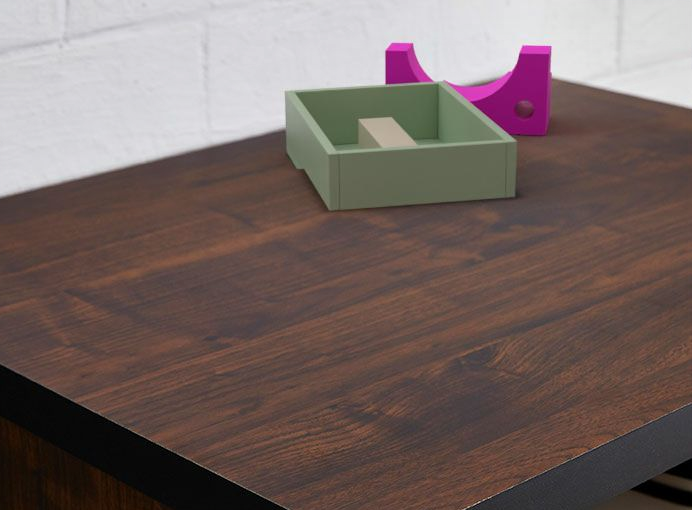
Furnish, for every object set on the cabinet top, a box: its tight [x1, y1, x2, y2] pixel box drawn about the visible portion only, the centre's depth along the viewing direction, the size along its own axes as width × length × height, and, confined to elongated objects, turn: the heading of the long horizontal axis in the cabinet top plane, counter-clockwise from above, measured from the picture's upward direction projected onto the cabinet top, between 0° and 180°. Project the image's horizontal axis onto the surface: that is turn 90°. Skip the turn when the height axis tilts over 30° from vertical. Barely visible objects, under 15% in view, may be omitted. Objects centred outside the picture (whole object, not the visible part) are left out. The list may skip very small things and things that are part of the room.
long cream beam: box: [358, 117, 417, 149], centre depth 115 cm, size 14×3×3 cm, turn 10°
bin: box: [284, 80, 518, 212], centre depth 115 cm, size 15×22×6 cm
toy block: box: [384, 42, 553, 136], centre depth 131 cm, size 15×6×8 cm, turn 78°
